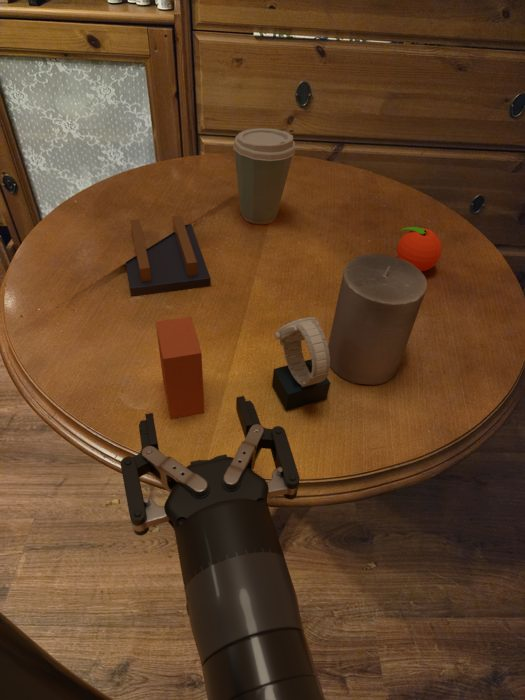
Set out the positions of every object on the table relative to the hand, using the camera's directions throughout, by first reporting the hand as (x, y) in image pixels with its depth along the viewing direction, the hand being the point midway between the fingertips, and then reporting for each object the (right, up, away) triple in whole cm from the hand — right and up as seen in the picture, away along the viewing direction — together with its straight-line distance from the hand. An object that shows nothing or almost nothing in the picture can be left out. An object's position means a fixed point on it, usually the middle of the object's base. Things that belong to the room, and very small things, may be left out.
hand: (195, 410), depth 47 cm
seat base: (-10, +20, +34) cm, 40 cm away
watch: (+11, 0, +15) cm, 19 cm away
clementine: (+31, +20, +36) cm, 52 cm away
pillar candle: (+20, +4, +20) cm, 28 cm away
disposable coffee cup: (+6, +31, +46) cm, 55 cm away
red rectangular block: (-3, 0, +14) cm, 14 cm away
